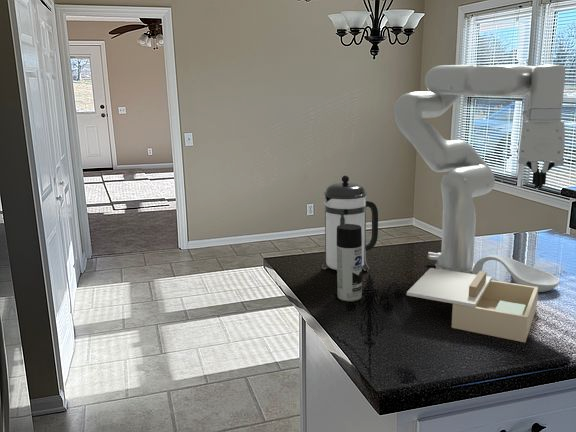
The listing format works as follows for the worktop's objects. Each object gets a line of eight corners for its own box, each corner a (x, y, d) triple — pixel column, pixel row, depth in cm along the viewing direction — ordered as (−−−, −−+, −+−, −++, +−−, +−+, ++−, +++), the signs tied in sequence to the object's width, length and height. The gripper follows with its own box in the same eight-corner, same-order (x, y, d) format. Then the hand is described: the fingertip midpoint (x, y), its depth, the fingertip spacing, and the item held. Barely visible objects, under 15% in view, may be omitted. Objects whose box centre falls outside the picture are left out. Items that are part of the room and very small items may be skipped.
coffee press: (368, 280, 155) (369, 180, 148) (316, 275, 160) (314, 178, 153) (377, 262, 171) (379, 171, 164) (330, 258, 176) (329, 169, 169)
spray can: (355, 303, 139) (355, 230, 134) (332, 299, 142) (332, 227, 138) (365, 295, 144) (366, 224, 140) (343, 291, 148) (343, 222, 143)
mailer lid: (406, 295, 128) (407, 282, 127) (430, 270, 144) (430, 258, 144) (474, 307, 120) (475, 293, 119) (491, 279, 136) (492, 267, 136)
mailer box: (451, 327, 124) (452, 303, 122) (470, 298, 140) (471, 277, 139) (525, 342, 116) (527, 317, 114) (536, 309, 132) (538, 287, 131)
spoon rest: (565, 288, 146) (567, 264, 144) (548, 300, 138) (550, 275, 136) (483, 269, 163) (485, 247, 161) (464, 279, 155) (466, 256, 153)
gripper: (510, 116, 133) (505, 187, 137) (577, 116, 126) (569, 191, 130) (515, 114, 139) (510, 183, 144) (579, 114, 132) (571, 186, 136)
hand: (538, 187), depth 137 cm, fingers closed
